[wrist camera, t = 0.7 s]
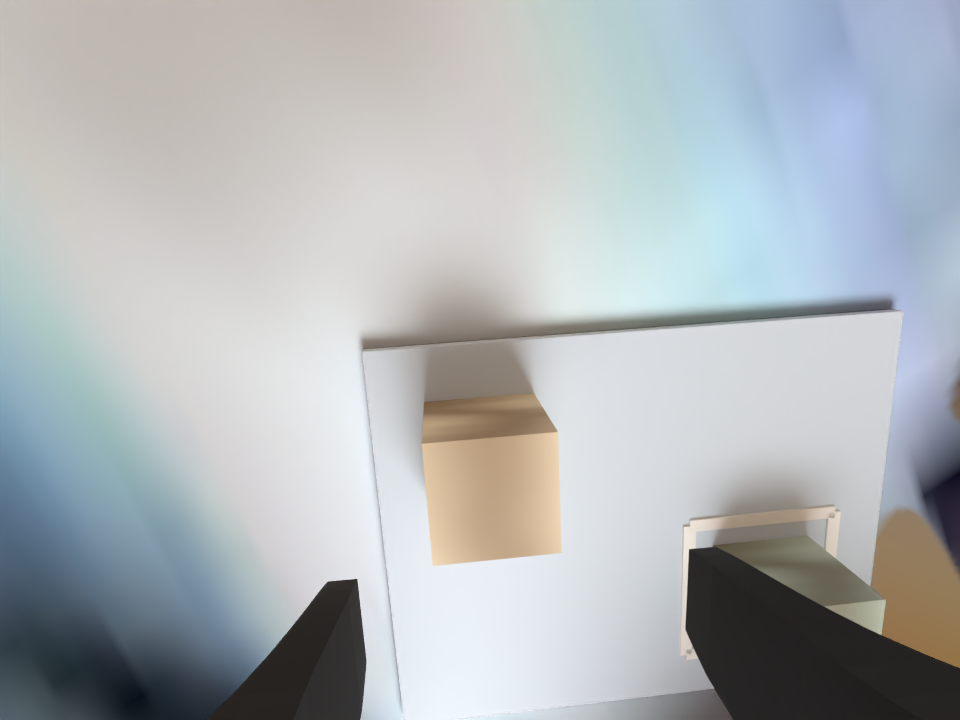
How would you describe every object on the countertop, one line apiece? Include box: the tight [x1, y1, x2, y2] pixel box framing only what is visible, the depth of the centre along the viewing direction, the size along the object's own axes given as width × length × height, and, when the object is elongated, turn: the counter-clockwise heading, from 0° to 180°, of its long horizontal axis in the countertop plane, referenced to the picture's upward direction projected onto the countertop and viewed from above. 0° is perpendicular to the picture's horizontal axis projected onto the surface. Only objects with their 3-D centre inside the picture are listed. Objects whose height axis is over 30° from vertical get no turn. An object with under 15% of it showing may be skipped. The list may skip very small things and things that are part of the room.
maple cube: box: [422, 393, 562, 566], centre depth 18 cm, size 4×4×4 cm
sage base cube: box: [713, 536, 886, 635], centre depth 21 cm, size 4×4×4 cm
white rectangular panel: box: [362, 309, 904, 720], centre depth 22 cm, size 20×16×1 cm
